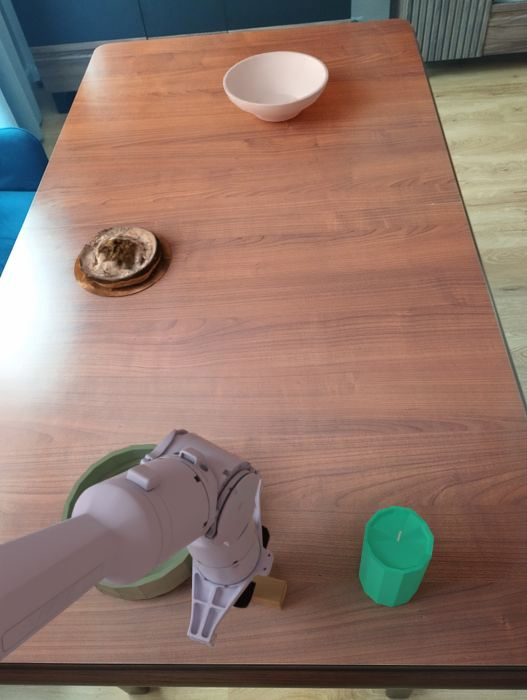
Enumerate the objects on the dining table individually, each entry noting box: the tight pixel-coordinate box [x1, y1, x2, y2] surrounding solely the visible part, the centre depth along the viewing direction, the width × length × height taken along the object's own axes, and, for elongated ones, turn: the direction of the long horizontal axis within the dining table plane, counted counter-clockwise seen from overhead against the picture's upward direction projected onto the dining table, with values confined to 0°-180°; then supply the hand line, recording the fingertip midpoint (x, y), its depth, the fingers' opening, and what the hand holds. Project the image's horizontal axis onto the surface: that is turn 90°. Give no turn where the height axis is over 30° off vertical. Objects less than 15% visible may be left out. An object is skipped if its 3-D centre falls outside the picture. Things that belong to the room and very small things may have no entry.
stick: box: [251, 575, 288, 611], centre depth 58 cm, size 2×9×2 cm, turn 73°
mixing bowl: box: [60, 443, 193, 601], centre depth 62 cm, size 15×15×5 cm
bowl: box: [222, 50, 330, 123], centre depth 110 cm, size 20×20×7 cm
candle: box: [358, 505, 435, 608], centre depth 54 cm, size 6×6×12 cm
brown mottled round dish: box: [73, 226, 172, 298], centre depth 89 cm, size 15×15×4 cm
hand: (239, 582), depth 58 cm, fingers closed on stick, 2 cm apart
